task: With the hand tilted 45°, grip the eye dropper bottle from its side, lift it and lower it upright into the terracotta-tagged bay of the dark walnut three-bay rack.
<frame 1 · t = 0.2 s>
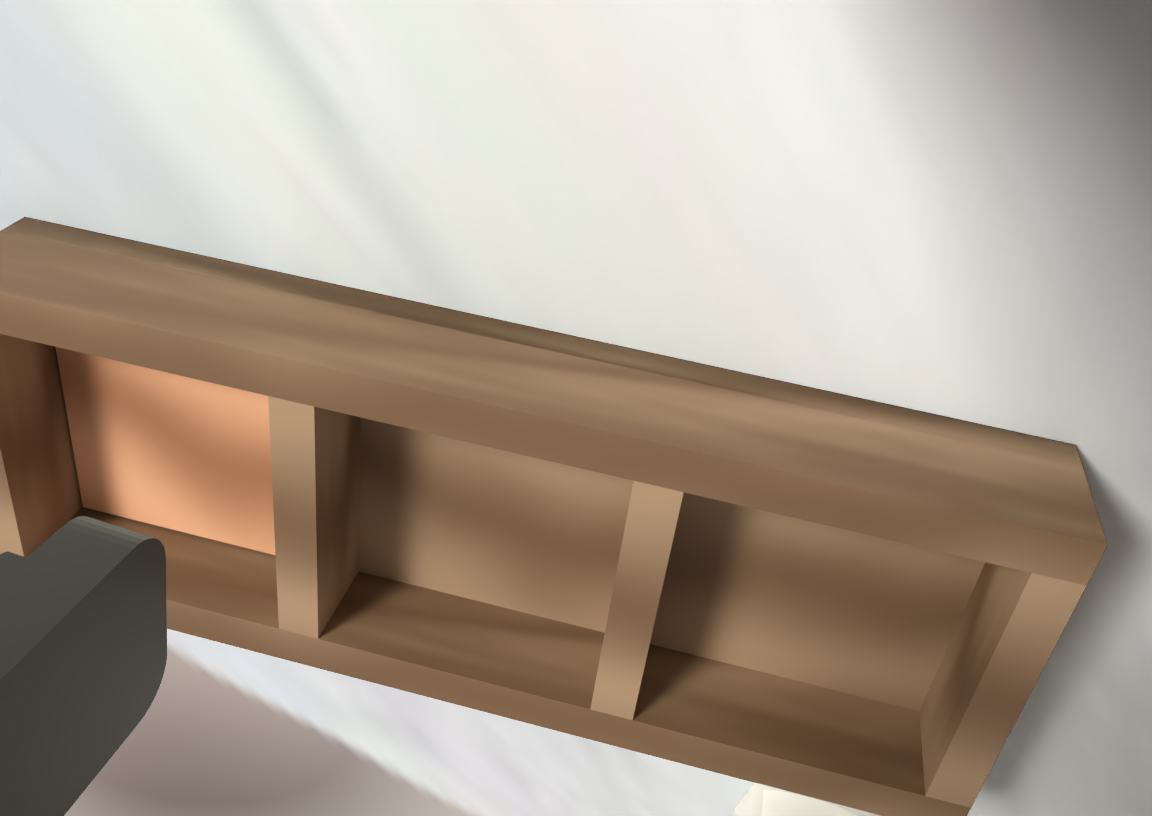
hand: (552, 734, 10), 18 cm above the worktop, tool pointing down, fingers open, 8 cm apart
walnut rack: (502, 479, 31), on the worktop
eye dropper bottle: (819, 814, 36), on the worktop
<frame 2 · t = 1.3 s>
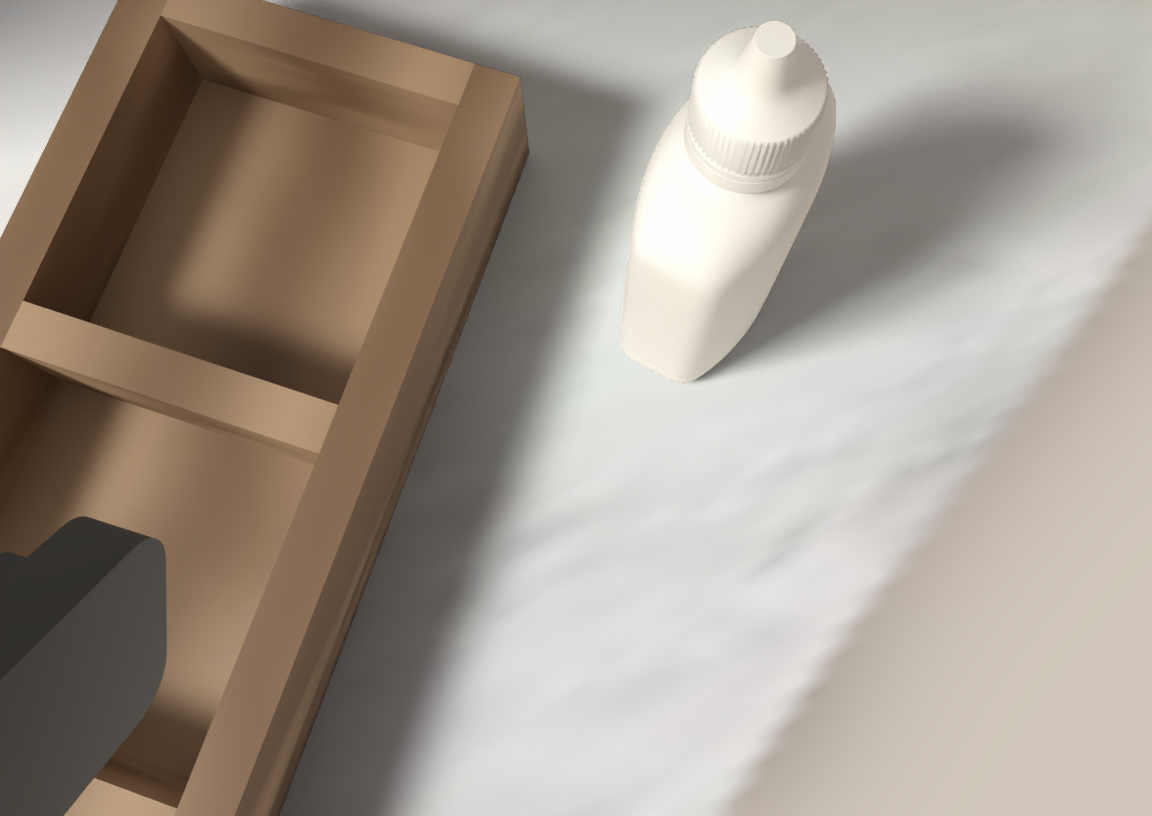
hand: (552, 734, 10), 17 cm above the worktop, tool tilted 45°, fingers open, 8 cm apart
walnut rack: (155, 580, 27), on the worktop
eye dropper bottle: (699, 292, 29), on the worktop
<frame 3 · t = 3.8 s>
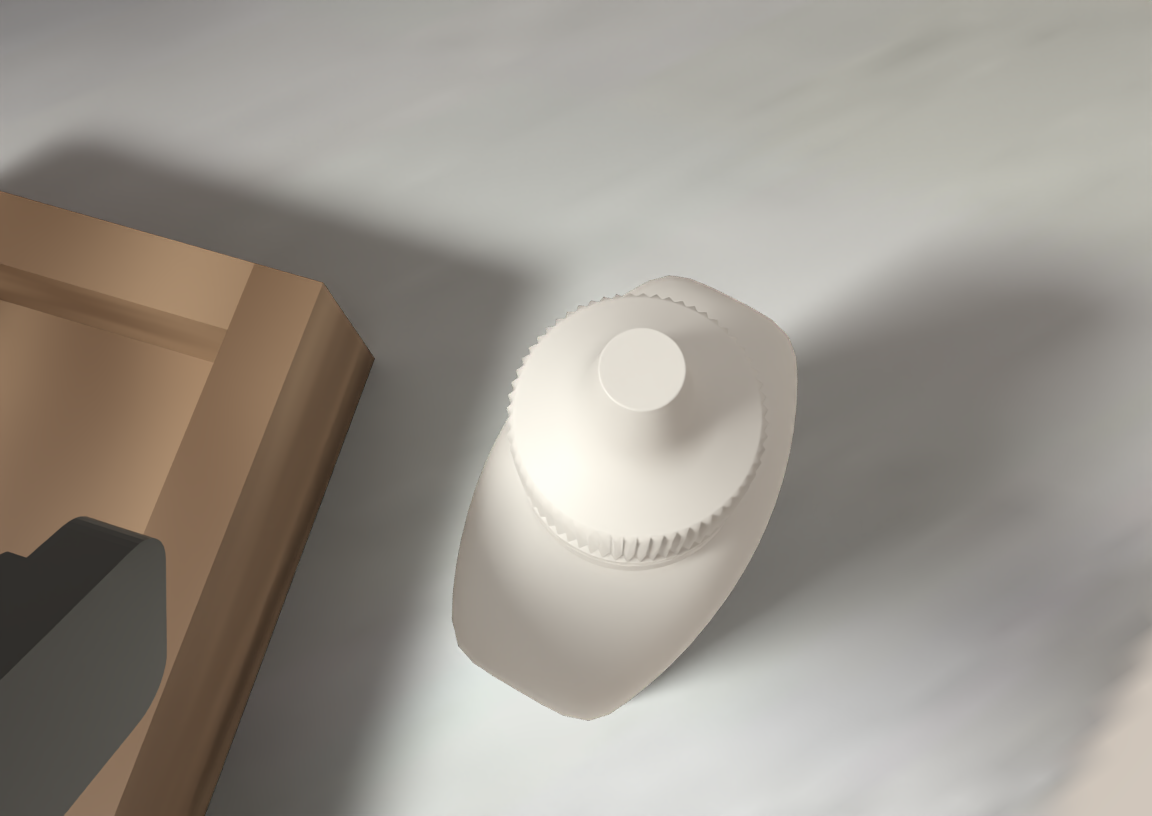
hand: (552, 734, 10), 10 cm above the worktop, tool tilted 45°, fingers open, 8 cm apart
eye dropper bottle: (620, 560, 20), on the worktop
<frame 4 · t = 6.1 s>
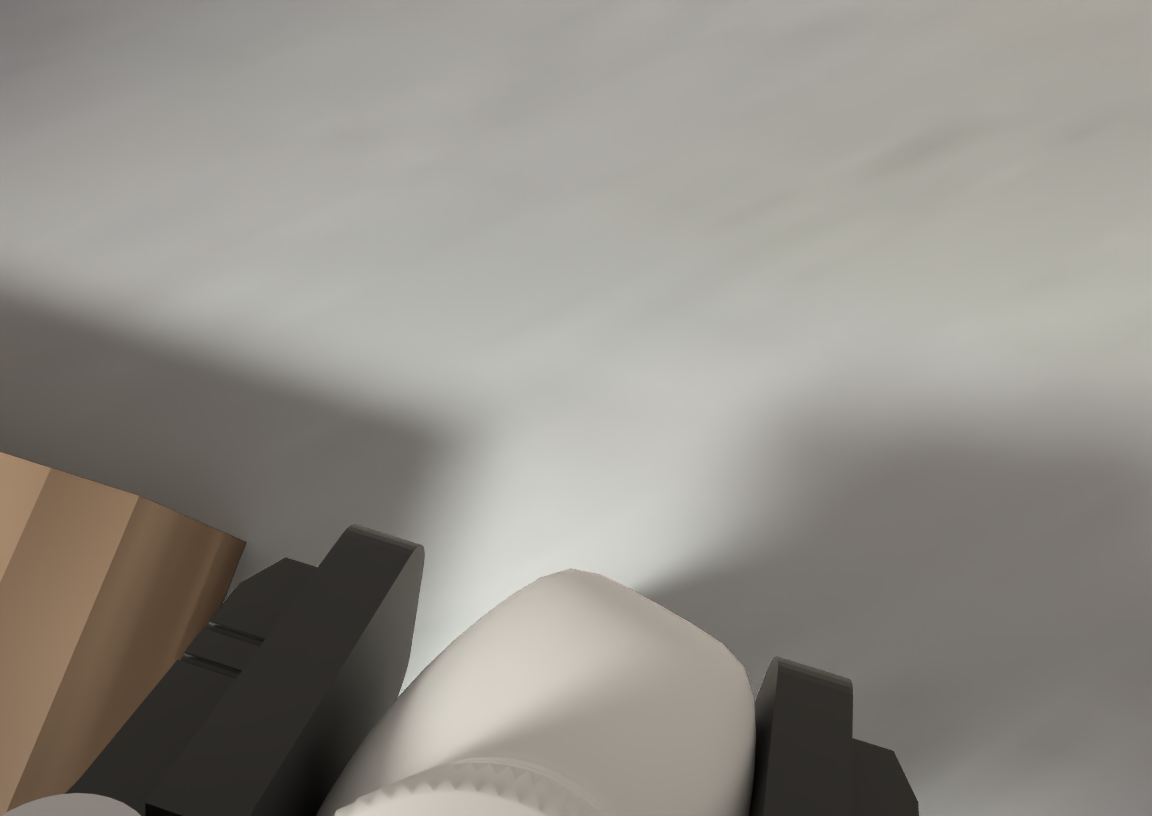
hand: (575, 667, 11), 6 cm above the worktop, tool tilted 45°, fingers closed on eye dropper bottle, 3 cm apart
eye dropper bottle: (547, 810, 16), on the worktop, touching gripper
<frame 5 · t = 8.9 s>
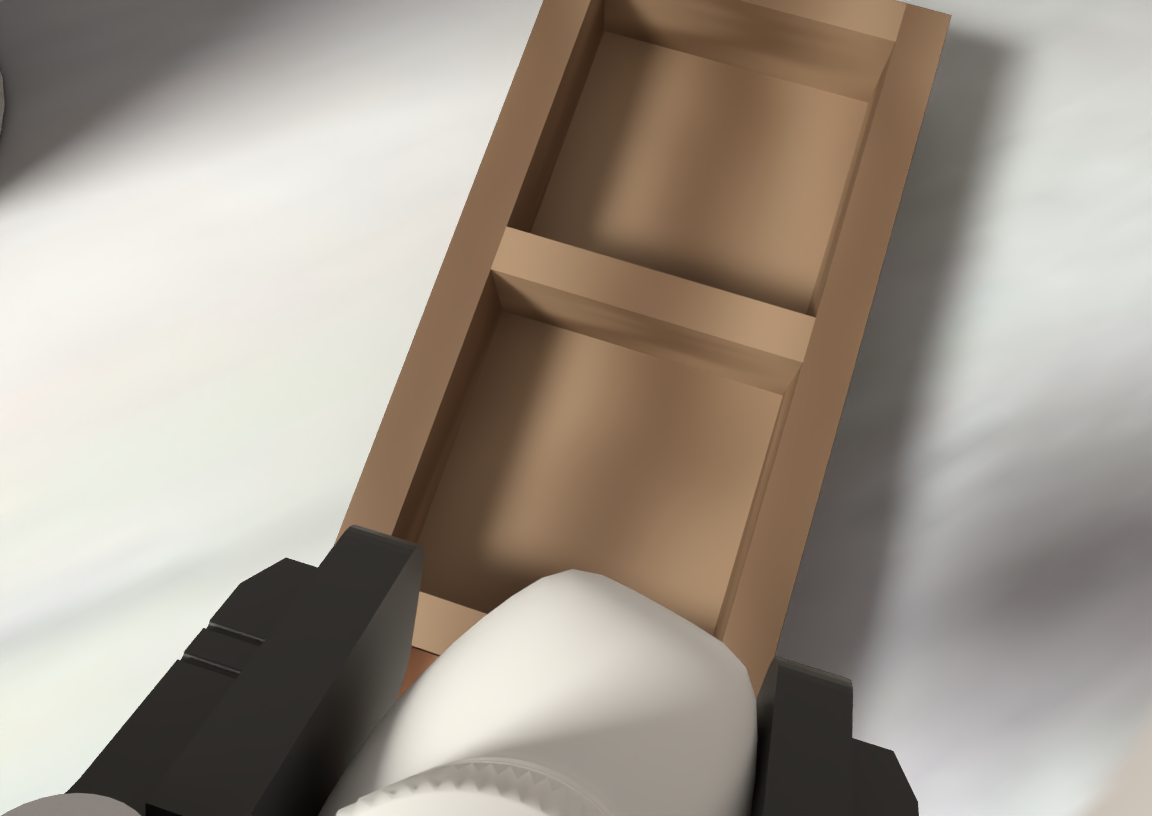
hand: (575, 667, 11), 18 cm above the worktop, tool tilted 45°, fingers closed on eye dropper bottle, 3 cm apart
walnut rack: (595, 496, 29), on the worktop
eye dropper bottle: (549, 810, 16), point 12 cm above the worktop, touching gripper
when the fingers open (8 cm above the worktop, at t = 11.7 s): eye dropper bottle drops 1 cm, resting on walnut rack.
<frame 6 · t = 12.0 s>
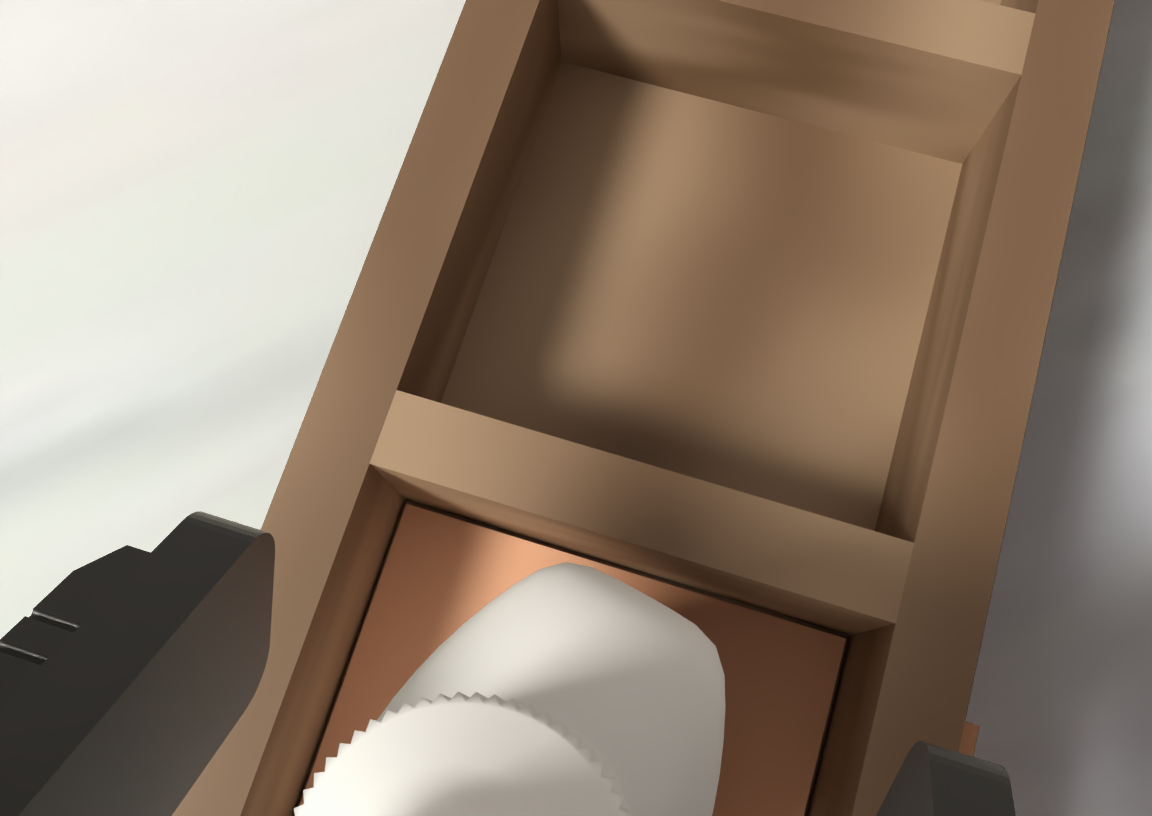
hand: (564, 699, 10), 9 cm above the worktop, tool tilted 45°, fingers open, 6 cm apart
walnut rack: (698, 315, 21), on the worktop
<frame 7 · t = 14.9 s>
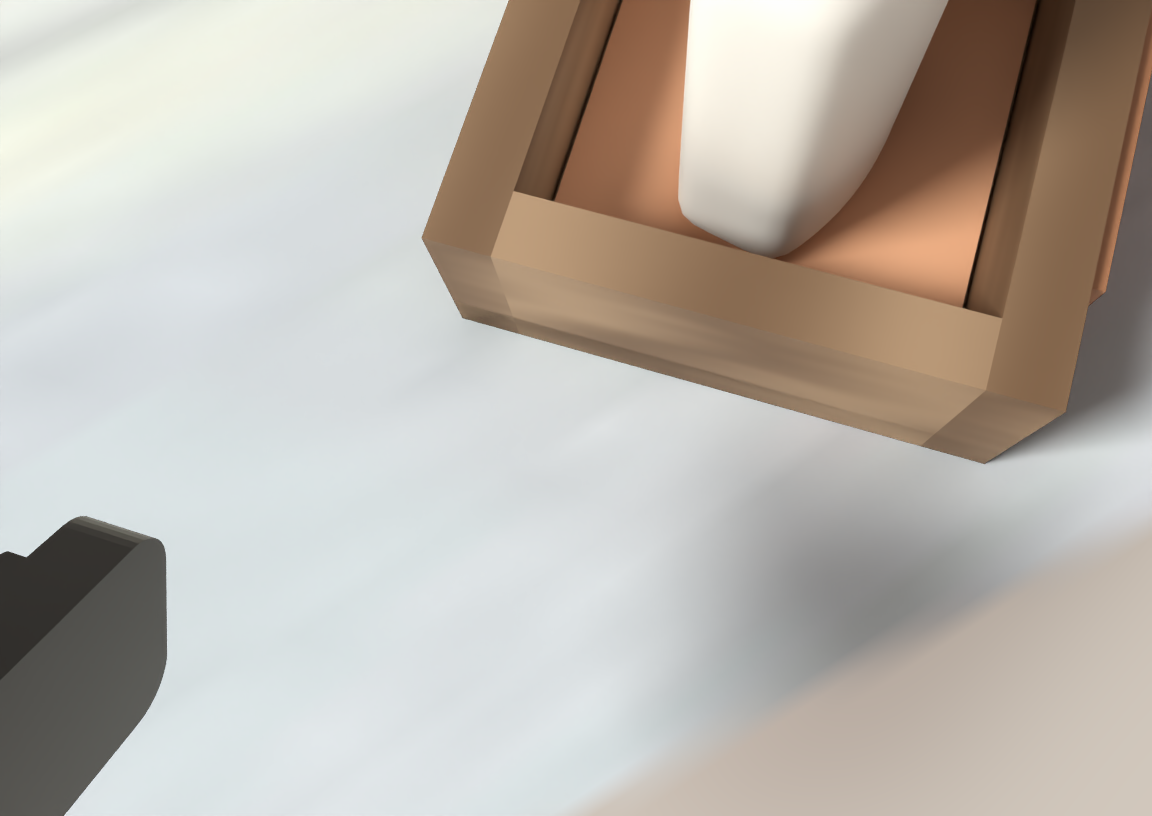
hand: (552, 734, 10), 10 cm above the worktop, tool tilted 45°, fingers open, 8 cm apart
eye dropper bottle: (789, 135, 21), point 1 cm above the worktop, touching walnut rack
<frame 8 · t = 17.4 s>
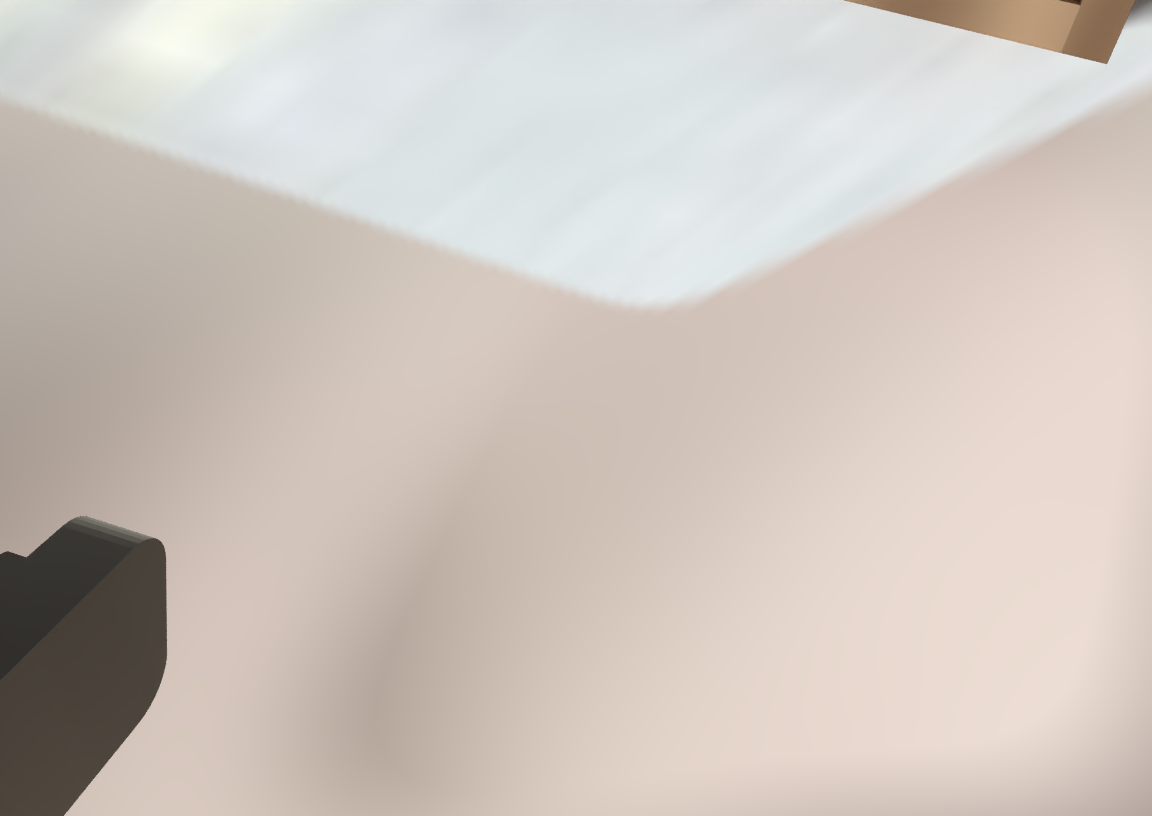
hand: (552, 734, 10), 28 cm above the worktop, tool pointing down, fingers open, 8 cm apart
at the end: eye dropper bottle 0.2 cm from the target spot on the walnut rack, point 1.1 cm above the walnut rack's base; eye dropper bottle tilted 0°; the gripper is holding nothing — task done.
